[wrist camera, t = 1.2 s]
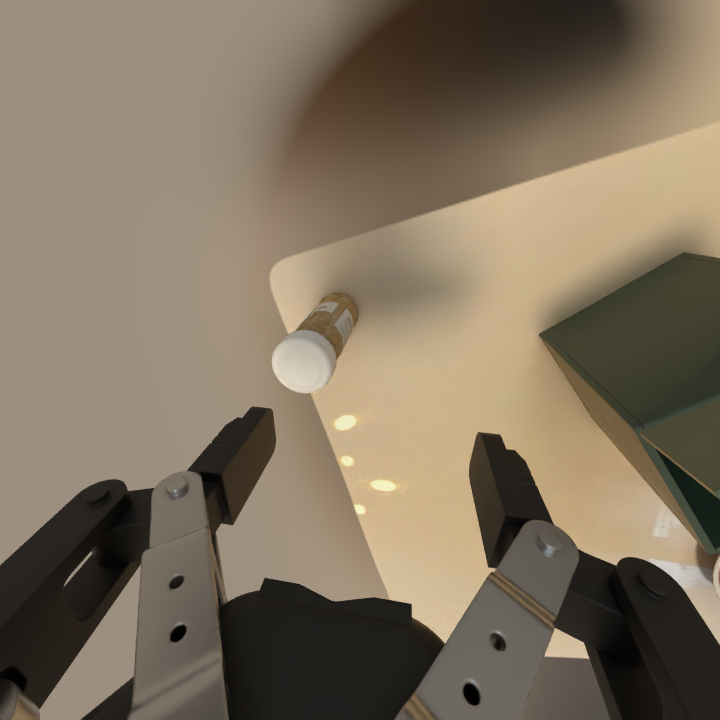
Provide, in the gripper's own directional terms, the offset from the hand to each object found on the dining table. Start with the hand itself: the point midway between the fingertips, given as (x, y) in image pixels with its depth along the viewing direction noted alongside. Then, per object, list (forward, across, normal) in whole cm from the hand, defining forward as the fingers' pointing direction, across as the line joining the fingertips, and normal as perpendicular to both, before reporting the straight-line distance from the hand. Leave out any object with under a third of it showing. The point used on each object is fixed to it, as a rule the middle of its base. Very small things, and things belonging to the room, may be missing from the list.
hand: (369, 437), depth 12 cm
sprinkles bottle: (+23, +6, +2) cm, 24 cm away
